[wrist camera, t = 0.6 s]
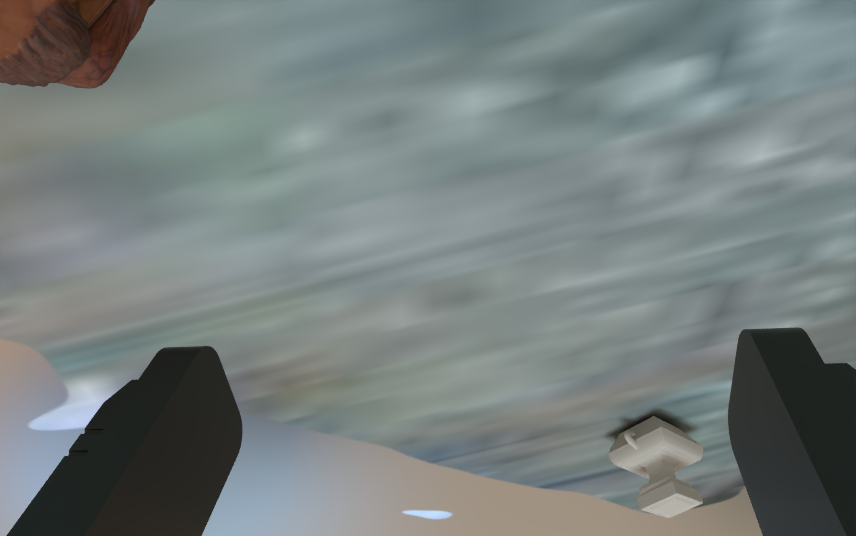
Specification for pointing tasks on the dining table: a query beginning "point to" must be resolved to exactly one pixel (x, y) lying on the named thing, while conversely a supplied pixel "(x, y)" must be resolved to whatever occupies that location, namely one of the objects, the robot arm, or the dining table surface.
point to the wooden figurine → (66, 39)
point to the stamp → (659, 465)
